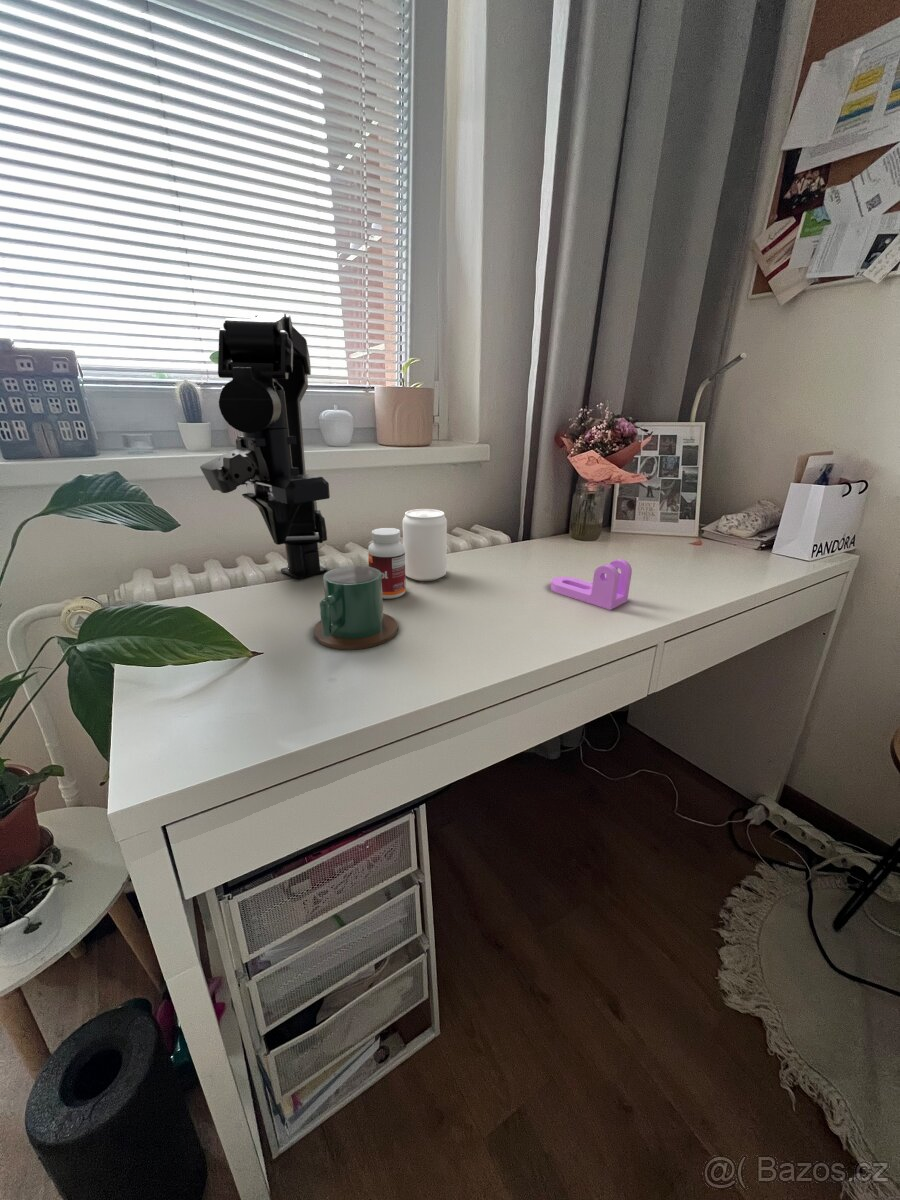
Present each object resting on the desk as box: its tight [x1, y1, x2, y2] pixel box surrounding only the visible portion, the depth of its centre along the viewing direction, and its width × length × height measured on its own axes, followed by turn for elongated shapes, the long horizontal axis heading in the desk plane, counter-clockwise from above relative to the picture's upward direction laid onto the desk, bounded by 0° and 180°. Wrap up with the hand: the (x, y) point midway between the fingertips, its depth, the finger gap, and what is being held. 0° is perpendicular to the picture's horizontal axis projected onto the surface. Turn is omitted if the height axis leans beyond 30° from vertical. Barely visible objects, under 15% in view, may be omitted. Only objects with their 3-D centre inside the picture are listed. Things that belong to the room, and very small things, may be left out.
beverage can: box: [402, 508, 448, 582], centre depth 94 cm, size 8×8×12 cm
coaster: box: [313, 612, 399, 651], centre depth 73 cm, size 12×12×1 cm
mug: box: [319, 565, 384, 639], centre depth 70 cm, size 12×8×8 cm
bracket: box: [550, 558, 633, 611], centre depth 86 cm, size 13×6×7 cm, turn 44°
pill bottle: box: [367, 527, 407, 600], centre depth 85 cm, size 6×6×11 cm
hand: (279, 543), depth 72 cm, fingers closed
